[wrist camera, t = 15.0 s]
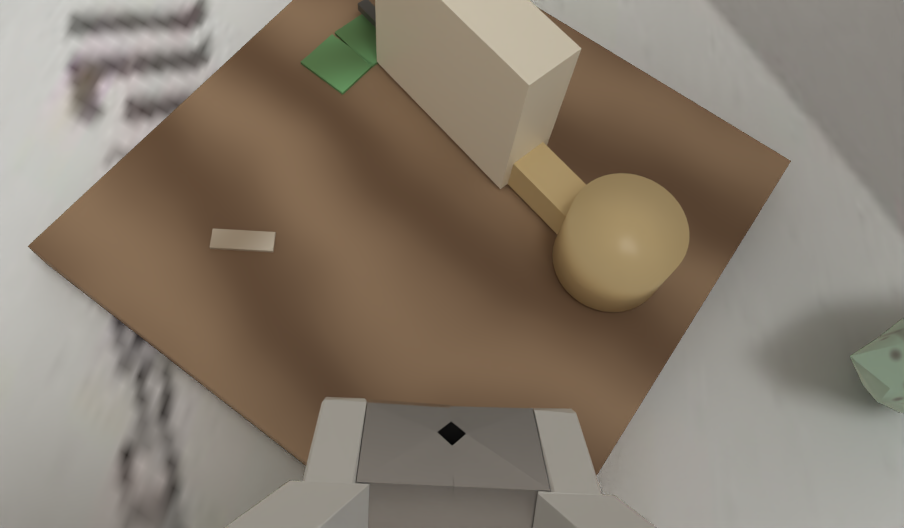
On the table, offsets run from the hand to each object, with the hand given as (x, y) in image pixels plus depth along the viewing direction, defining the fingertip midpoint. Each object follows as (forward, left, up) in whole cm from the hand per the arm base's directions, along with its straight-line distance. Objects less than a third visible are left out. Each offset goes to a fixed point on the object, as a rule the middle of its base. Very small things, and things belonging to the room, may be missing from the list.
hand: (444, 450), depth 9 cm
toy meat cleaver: (-14, -6, -18) cm, 24 cm away
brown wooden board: (-11, -7, -19) cm, 23 cm away
